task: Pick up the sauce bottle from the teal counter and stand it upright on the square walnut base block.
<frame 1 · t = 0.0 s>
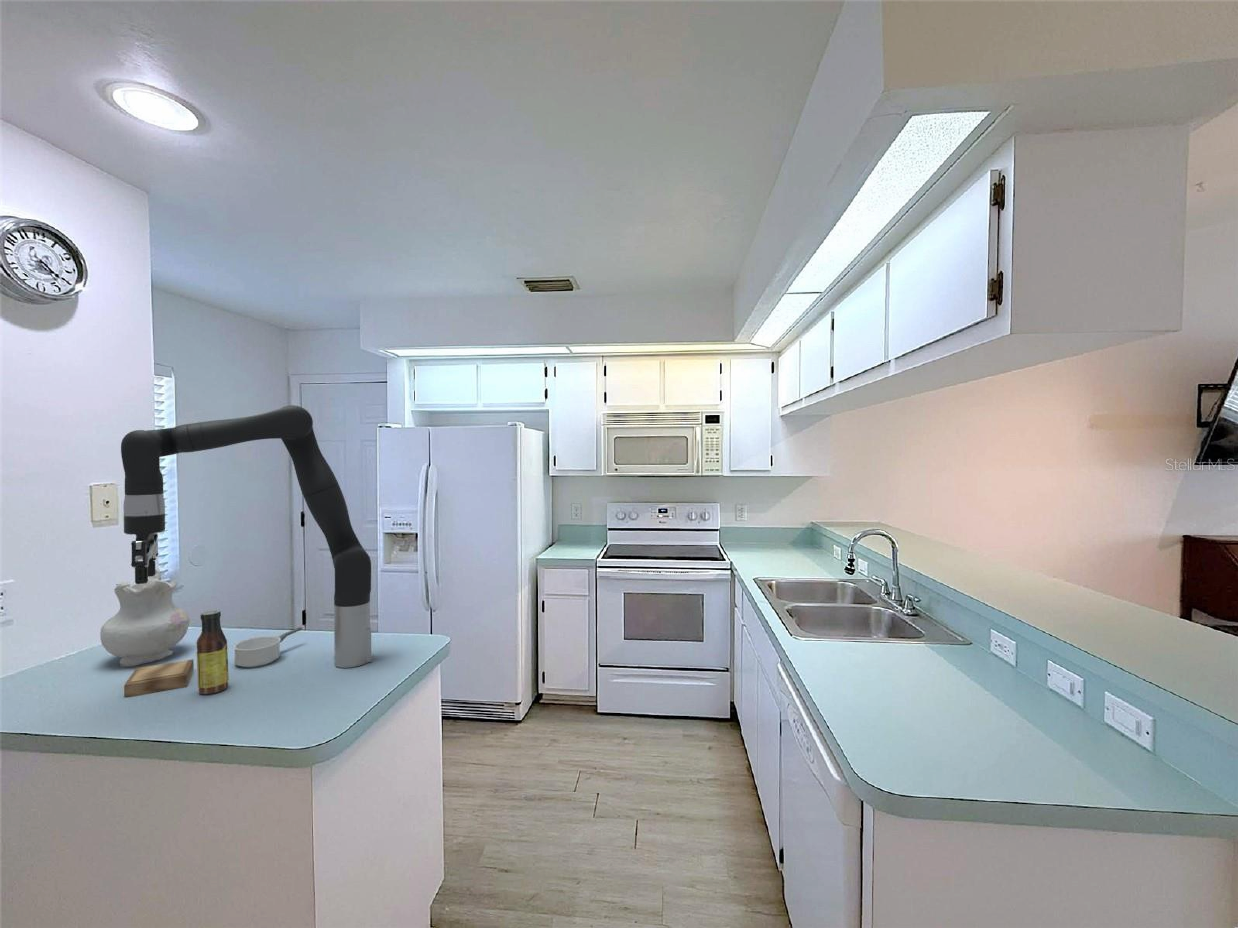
hand: (145, 579, 130), 29 cm above the counter, fingers open, 8 cm apart
walnut base block: (161, 682, 140), on the counter
sauce bottle: (213, 690, 136), on the counter
saucepan: (271, 657, 159), on the counter
ceramic pitcher: (147, 657, 158), on the counter
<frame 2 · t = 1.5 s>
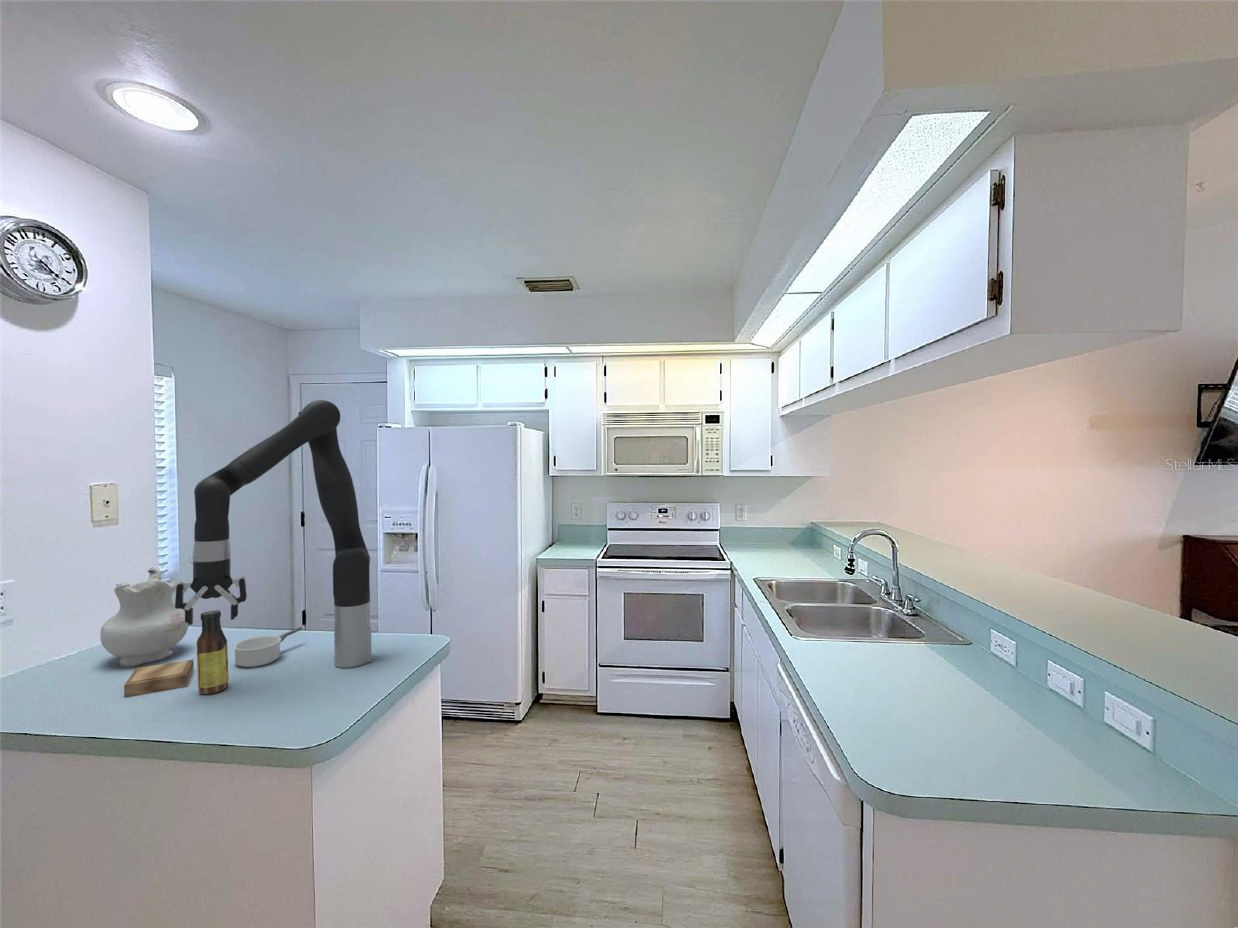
hand: (212, 621, 136), 17 cm above the counter, fingers open, 8 cm apart
nothing on the counter moved.
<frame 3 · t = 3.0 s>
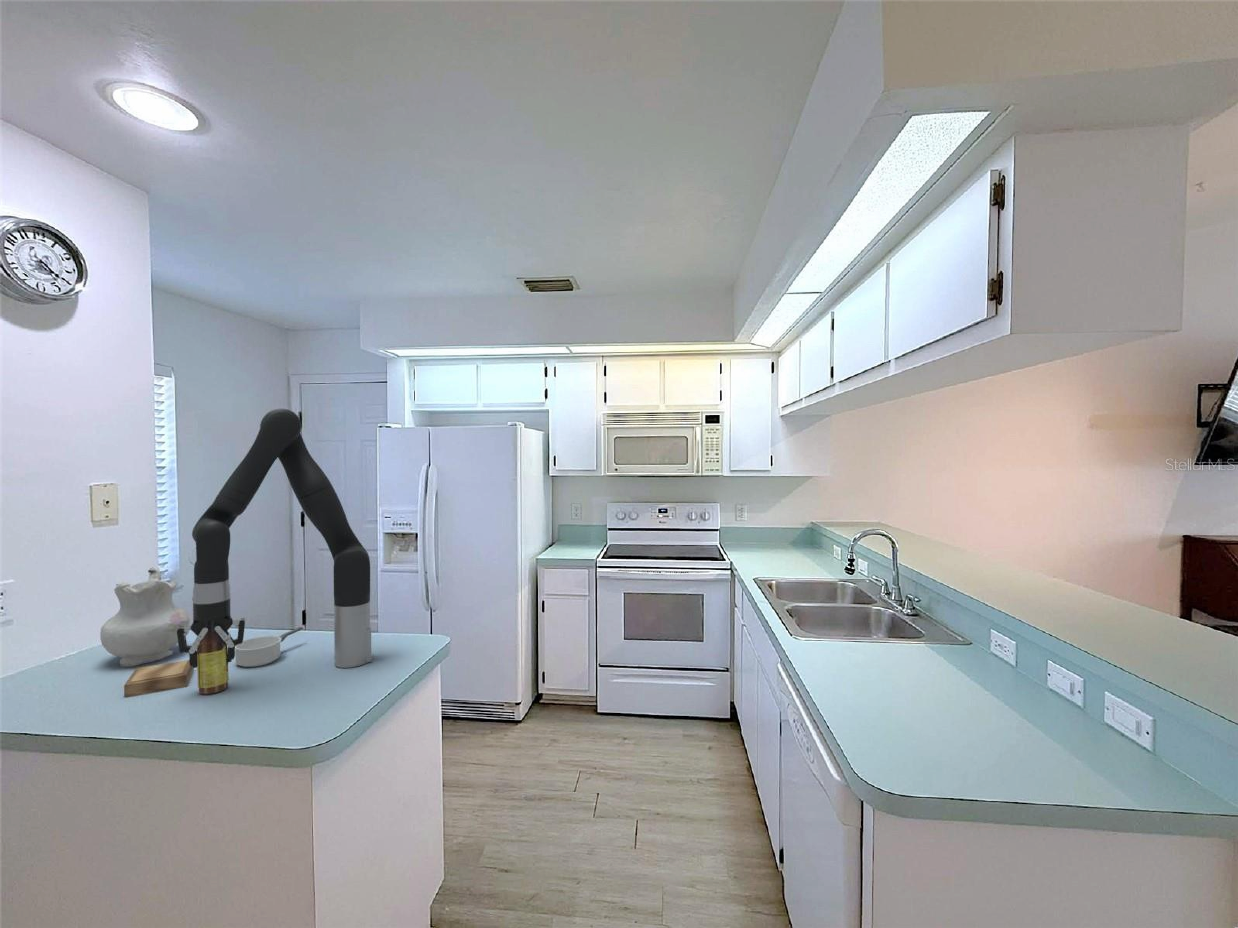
hand: (212, 663, 136), 7 cm above the counter, fingers closed on sauce bottle, 6 cm apart
sauce bottle: (213, 690, 136), on the counter, touching gripper
everything else where it was.
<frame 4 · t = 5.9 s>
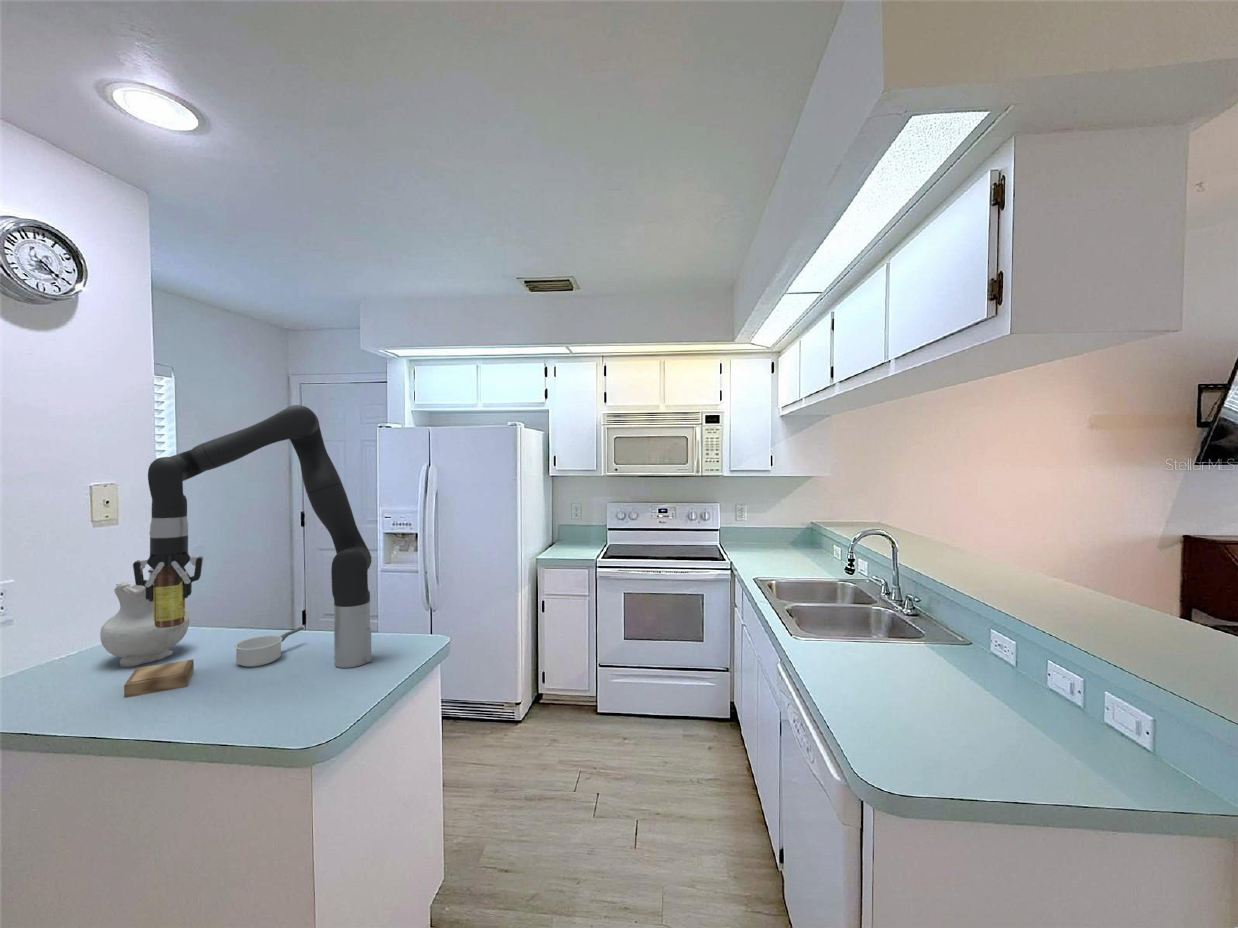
hand: (168, 598, 138), 22 cm above the counter, fingers closed on sauce bottle, 6 cm apart
sauce bottle: (169, 625, 138), point 15 cm above the counter, touching gripper
everything else where it was.
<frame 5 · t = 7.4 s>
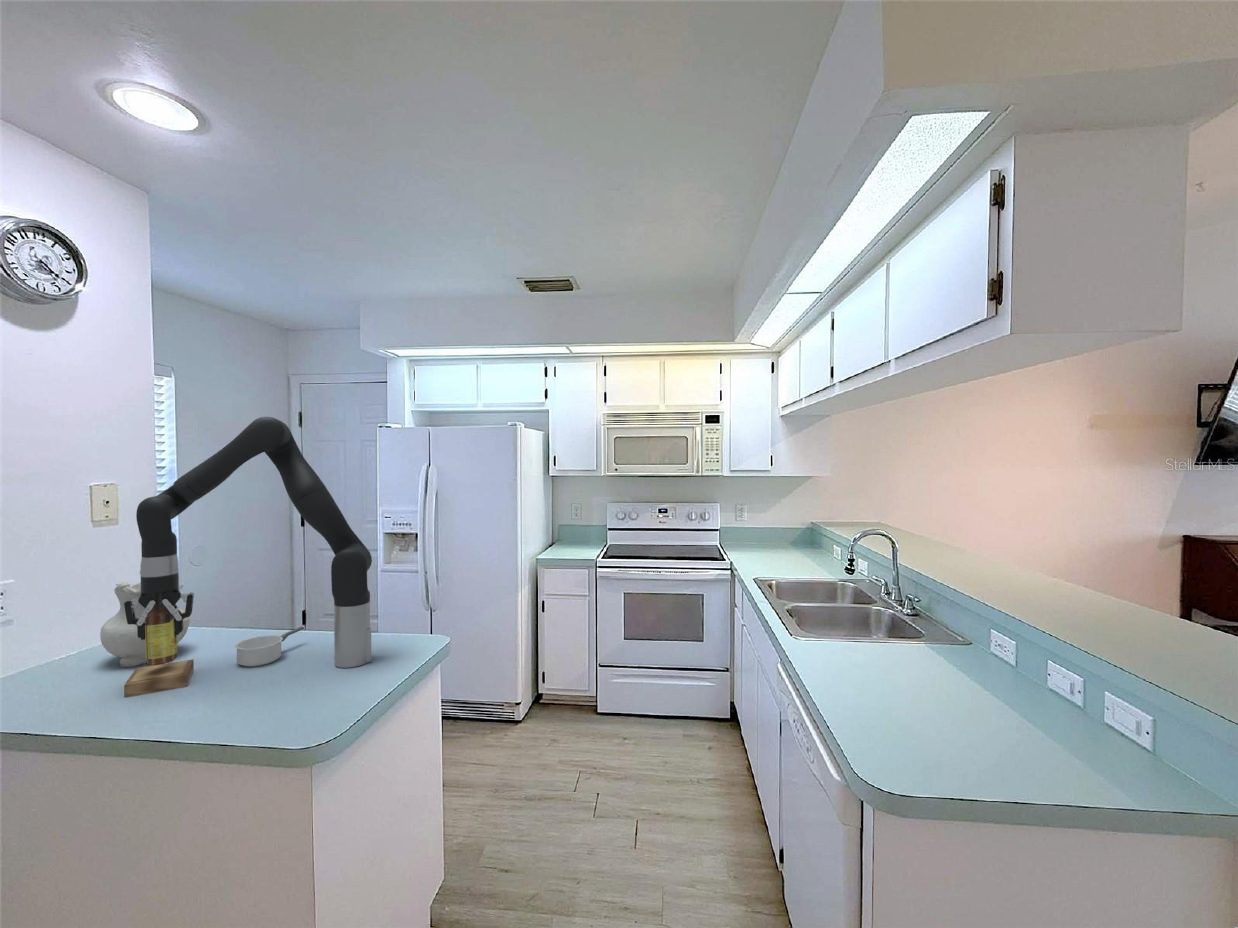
hand: (160, 636, 140), 12 cm above the counter, fingers closed on sauce bottle, 6 cm apart
sauce bottle: (161, 662, 140), point 5 cm above the counter, touching gripper
everything else where it was.
when the fingers open (10 cm above the counter, at t = 8.6 s): sauce bottle stays where it is, resting on walnut base block.
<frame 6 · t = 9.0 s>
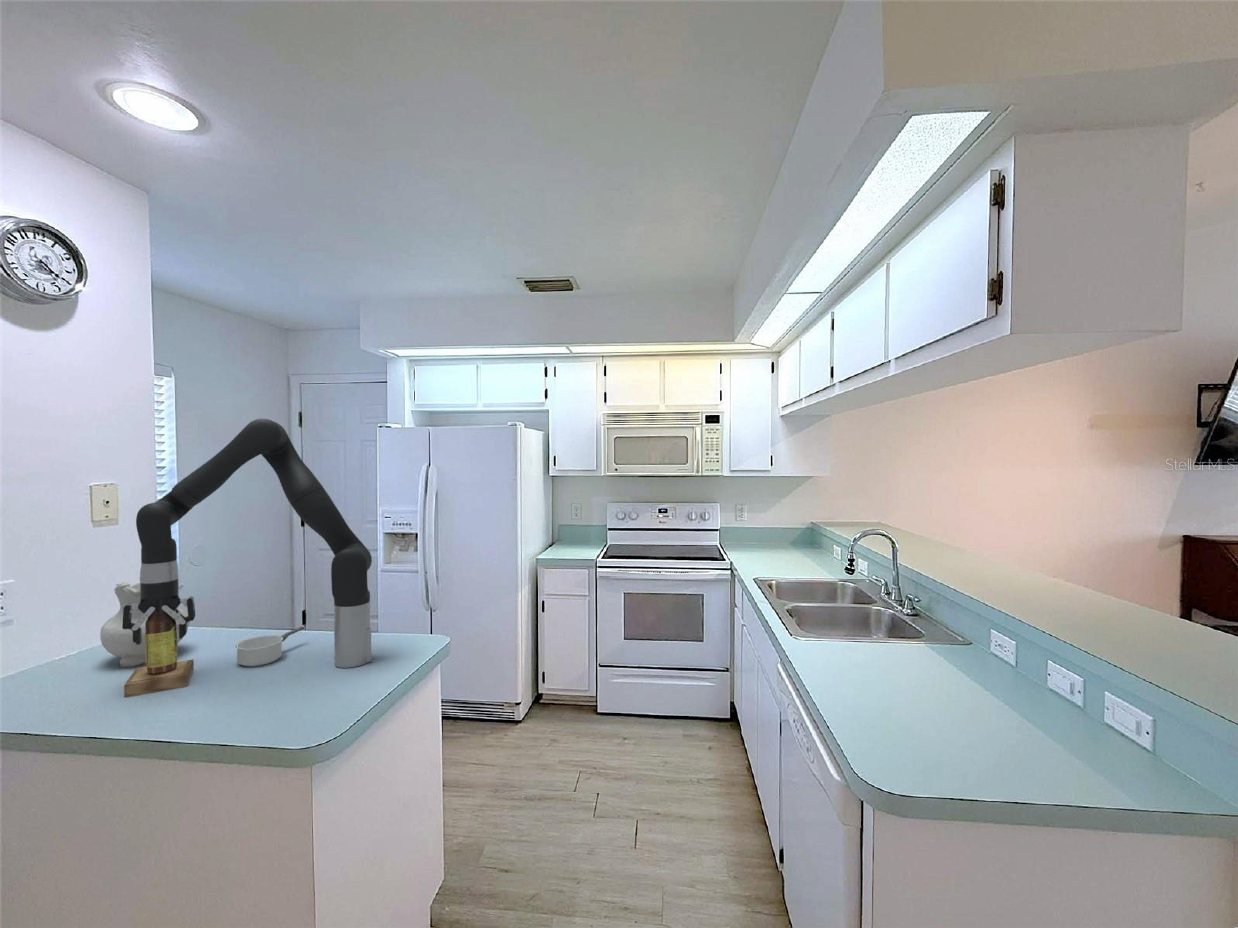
hand: (160, 640, 140), 11 cm above the counter, fingers open, 8 cm apart
sauce bottle: (161, 671, 140), point 3 cm above the counter, touching walnut base block
everything else where it was.
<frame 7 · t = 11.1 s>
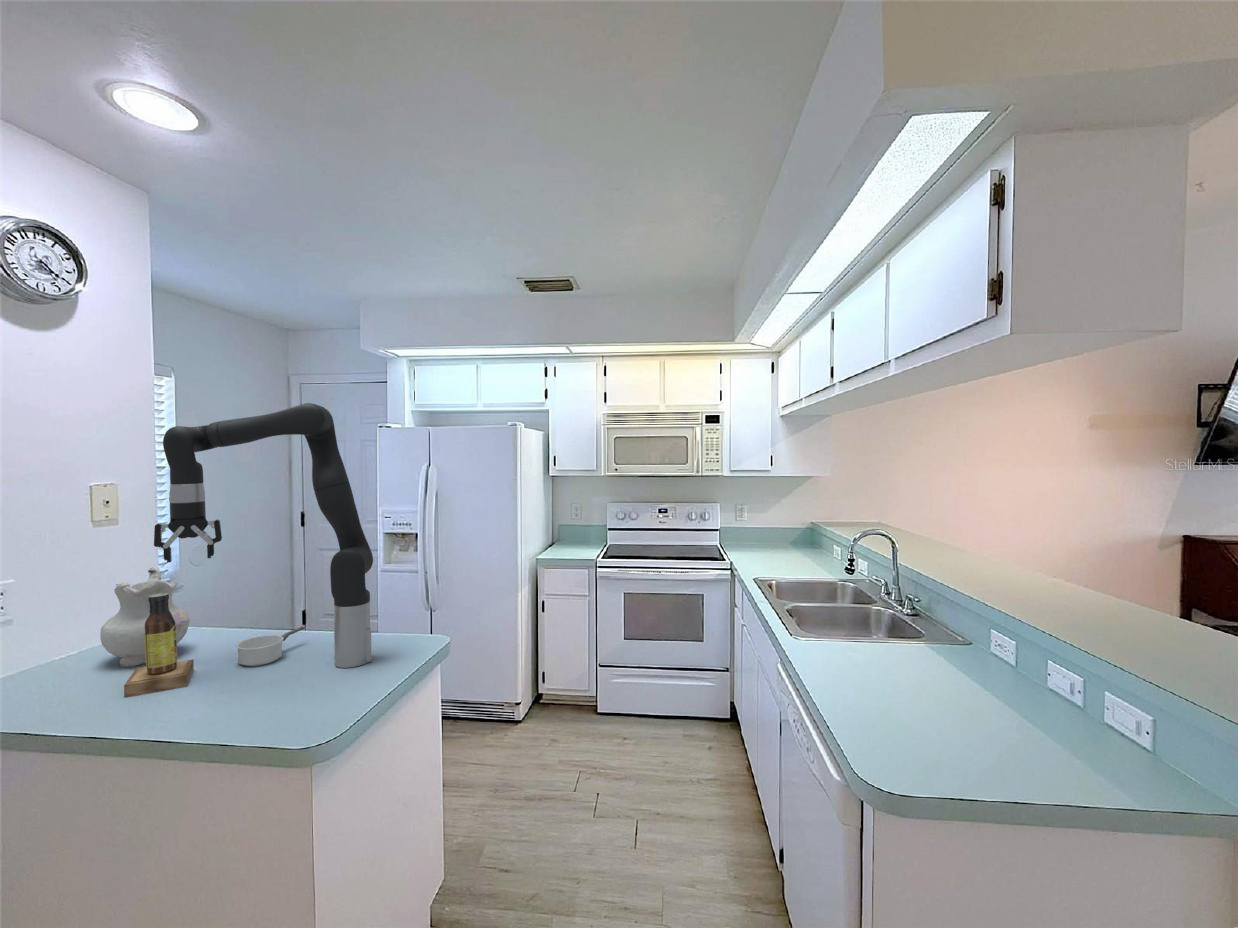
hand: (189, 559, 146), 31 cm above the counter, fingers open, 8 cm apart
nothing on the counter moved.
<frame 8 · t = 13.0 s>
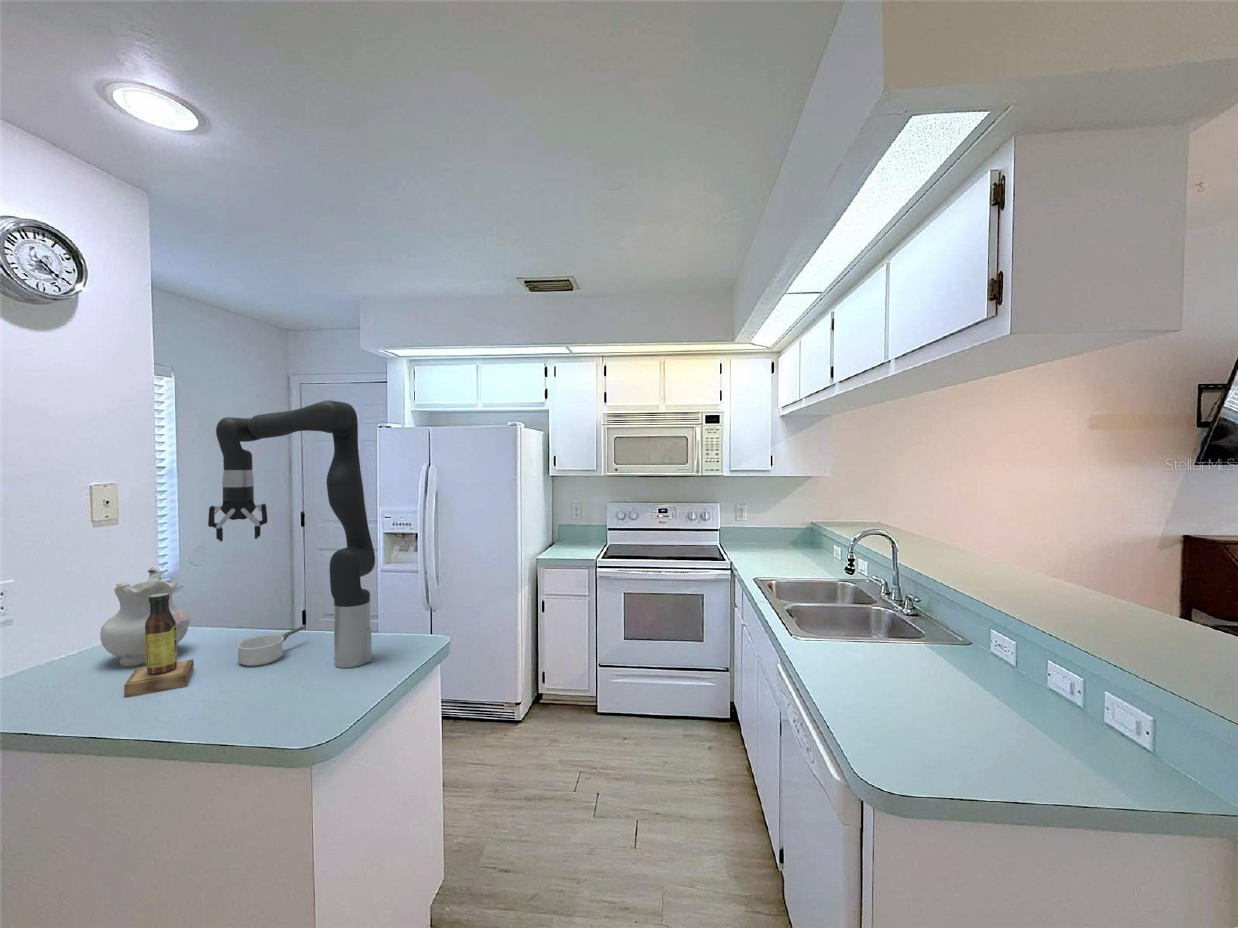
hand: (238, 539, 159), 34 cm above the counter, fingers open, 8 cm apart
nothing on the counter moved.
at the end: sauce bottle inside the target area on the walnut base block (0.2 cm from its centre), point 3.0 cm above the walnut base block's base; sauce bottle tilted 0°; the gripper is holding nothing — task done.
